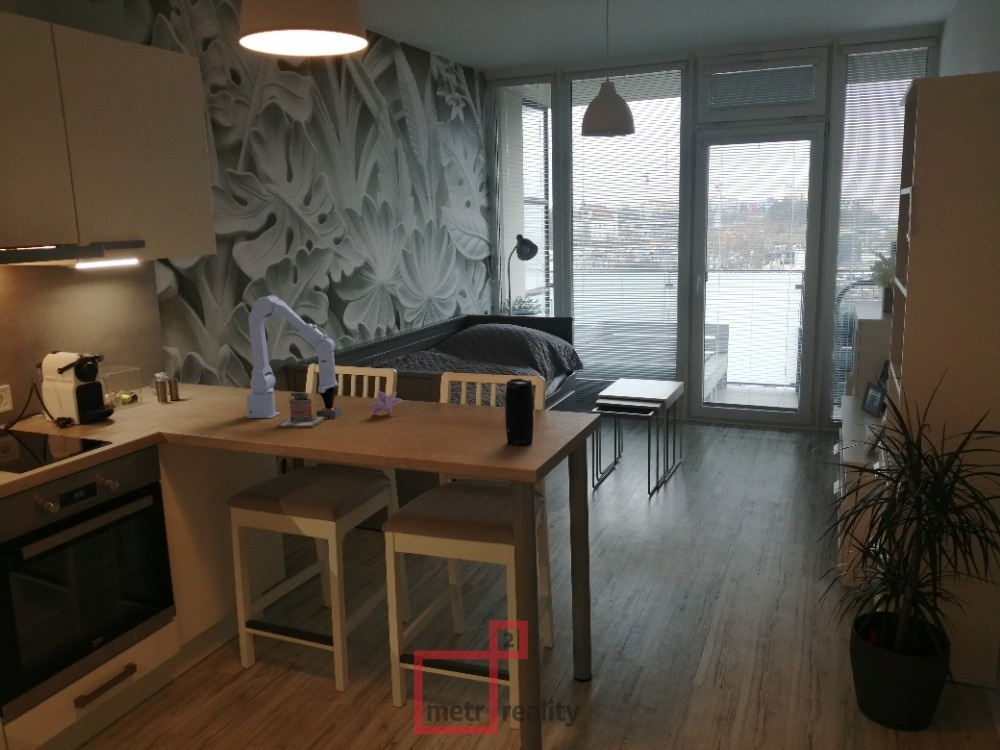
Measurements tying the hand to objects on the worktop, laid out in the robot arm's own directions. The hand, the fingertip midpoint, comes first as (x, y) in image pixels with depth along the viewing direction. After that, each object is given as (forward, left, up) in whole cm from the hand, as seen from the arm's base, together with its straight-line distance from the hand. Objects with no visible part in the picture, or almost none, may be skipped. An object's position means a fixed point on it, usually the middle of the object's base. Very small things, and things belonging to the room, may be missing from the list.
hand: (329, 408), depth 286 cm
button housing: (0, 0, -3) cm, 3 cm away
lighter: (-6, -11, -2) cm, 13 cm away
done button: (0, 0, -2) cm, 2 cm away
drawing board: (-6, -11, -3) cm, 13 cm away
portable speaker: (+73, -35, -3) cm, 81 cm away
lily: (+21, +1, -3) cm, 21 cm away
